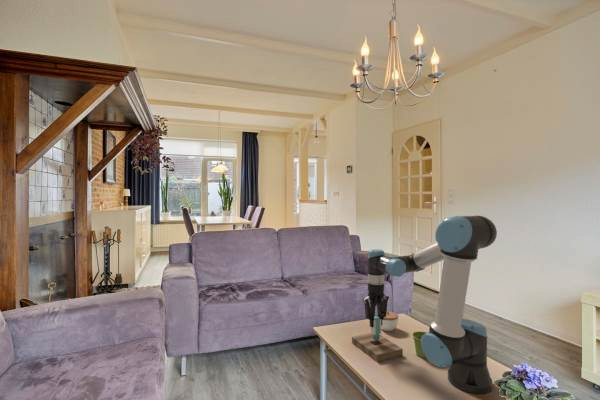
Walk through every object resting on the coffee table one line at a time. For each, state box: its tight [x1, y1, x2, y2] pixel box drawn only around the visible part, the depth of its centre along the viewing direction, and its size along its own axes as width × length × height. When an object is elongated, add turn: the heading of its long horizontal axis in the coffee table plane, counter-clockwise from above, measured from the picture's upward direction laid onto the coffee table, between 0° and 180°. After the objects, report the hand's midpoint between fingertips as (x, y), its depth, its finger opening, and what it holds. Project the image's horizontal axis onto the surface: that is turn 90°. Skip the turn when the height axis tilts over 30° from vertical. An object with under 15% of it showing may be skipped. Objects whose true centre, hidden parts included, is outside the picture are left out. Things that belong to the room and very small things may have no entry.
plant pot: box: [411, 330, 428, 359], centre depth 147 cm, size 9×9×9 cm
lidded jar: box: [381, 310, 399, 332], centre depth 176 cm, size 11×11×9 cm
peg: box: [373, 315, 380, 340], centre depth 152 cm, size 3×3×10 cm
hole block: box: [351, 332, 404, 363], centre depth 152 cm, size 20×14×3 cm
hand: (376, 333), depth 152 cm, fingers closed on peg, 2 cm apart
